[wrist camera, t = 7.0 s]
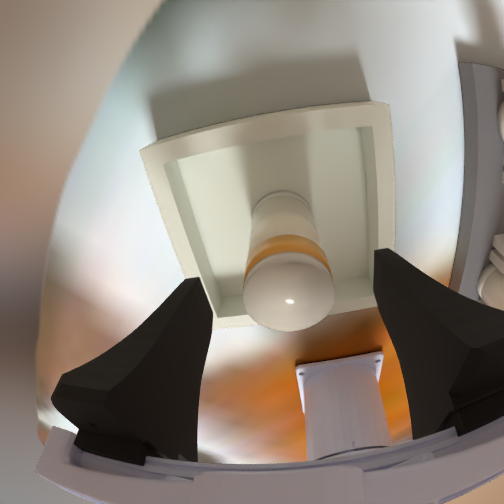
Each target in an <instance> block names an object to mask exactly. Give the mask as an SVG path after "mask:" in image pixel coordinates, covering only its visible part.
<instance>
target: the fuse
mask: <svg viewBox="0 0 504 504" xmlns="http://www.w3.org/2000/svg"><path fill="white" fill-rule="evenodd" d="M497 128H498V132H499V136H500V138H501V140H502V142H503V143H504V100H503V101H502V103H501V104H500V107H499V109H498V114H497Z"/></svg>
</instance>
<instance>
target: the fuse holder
mask: <svg viewBox="0 0 504 504" xmlns="http://www.w3.org/2000/svg"><path fill="white" fill-rule="evenodd" d="M458 65H459V71H460V79H461V87H462V97H463V109H464V127H465V171H464V190H463V202H462V213H461V221H460V229H459V236H458V243H457V249H456V255H455V260H454V266H453V271H452V276H451V280H450V285H449V288H450V289H451V290H453V291H455V292H457V293H459V294H461V295H463V296H465V297H468V298H470V299H472V300H475V301H477V302H479V303H482V304H485V305H486V303H485V302H484V300H483V299H482V298H481V297H480V295H479V294H478V292H477V290H476V285H477V281H478V278H479V276H480V274H481V273H482V271H483V270H484V269H485V268H486V267H487V266H488V265H489V264H490V263H493V264H494V265H495V266H496V267H497V269H498V270H499V271H500V272H501V273H502V274H504V143H503V142H502V140H501V138H500V136H499V132H498V128H497V114H498V109H499V107H500V104H501V103H502V101H503V100H504V69H500V68H496V67H491V66H486V65H481V64H475V63H458Z"/></svg>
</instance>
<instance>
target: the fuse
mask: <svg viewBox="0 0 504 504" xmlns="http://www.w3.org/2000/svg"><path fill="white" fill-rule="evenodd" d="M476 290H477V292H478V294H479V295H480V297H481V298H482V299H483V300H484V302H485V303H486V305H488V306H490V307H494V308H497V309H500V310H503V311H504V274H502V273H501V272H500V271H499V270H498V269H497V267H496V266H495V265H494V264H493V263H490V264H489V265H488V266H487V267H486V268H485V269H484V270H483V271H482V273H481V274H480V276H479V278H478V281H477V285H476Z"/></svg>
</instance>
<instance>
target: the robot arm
mask: <svg viewBox="0 0 504 504" xmlns="http://www.w3.org/2000/svg"><path fill="white" fill-rule="evenodd" d="M373 292H374V296H375V299H376V303H377V306H378V309H379V312H380V314H381V317H382V319H383V321H384V324H385V326H386V328H387V331H388V333H389V336H390V338H391V340H392V343H393V345H394V348H395V350H396V353H397V356H398V359H399V362H400V366H401V370H402V374H403V378H404V383H405V388H406V393H407V398H408V404H409V410H410V417H411V425H412V435H413V441H409V442H406V443H402V444H399V445H393V446H392V442H391V437H390V432H389V428H388V423H387V419H386V414H385V410H384V405H383V401H382V397H381V393H380V389H379V385H378V382H379V377H380V373H381V368H382V363H383V357H384V355H383V352H381V351H378V352H373V353H368V354H363V355H358V356H353V357H347V358H341V359H335V360H329V361H323V362H316V363H309V364H301V365H298V366H297V367H296V375H297V381H298V386H299V391H300V397H301V402H302V408H303V413H305V424H306V444H307V461H304V462H293V463H277V464H215V463H199V462H198V454H197V427H198V407H199V395H200V385H201V379H202V374H203V370H204V365H205V361H206V357H207V352H208V348H209V344H210V339H211V334H212V325H213V311H212V308H211V305H210V303H209V300H208V298H207V295H206V293H205V290H204V287H203V285H202V282H201V279H200V277H194V278H186V279H185V280H184V281H183V282H182V283H181V284H180V285H179V286H178V287H177V288H176V289H175V290H174V291H173V292H172V293H171V295H170V296H169V297H168V298H167V299H166V300H165V301H164V302H163V303H162V304H161V305H160V306H159V307H158V308H157V309H156V310H155V311H154V312H153V313H152V314H151V315H150V316H149V317H148V318H147V319H146V320H145V321H144V322H143V323H142V324H141V325H140V326H139V327H138V328H137V329H135V330H134V331H133V332H132V333H131V334H129V335H128V336H127V337H126V338H124V339H123V340H122V341H120V342H119V343H118V344H116V345H115V346H113V347H112V348H110V349H109V350H108V351H106V352H105V353H103V354H101V355H100V356H98V357H97V358H95V359H93V360H91V361H89V362H88V363H86V364H84V365H82V366H80V367H78V368H75V369H73V370H71V371H69V372H67V373H64V374H62V376H61V378H60V380H59V382H58V384H57V386H56V388H55V390H54V392H53V394H52V396H51V401H52V404H53V405H54V407H55V408H56V409H57V410H58V411H59V412H60V413H61V414H62V415H63V416H64V417H65V418H67V419H68V420H69V421H70V422H71V423H72V424H74V425H75V426H76V427H77V428H78V429H79V430H78V433H77V435H76V434H75V433H73V432H70V431H68V430H65V429H61V428H58V427H55V426H52V428H51V431H50V433H49V435H48V438H47V440H46V443H45V445H44V448H43V450H42V453H41V456H40V459H39V461H38V464H37V466H36V469H35V473H36V474H38V475H39V476H41V477H43V478H45V479H46V480H48V481H50V482H52V483H53V484H55V485H57V486H59V487H61V488H63V489H64V490H66V491H68V492H70V493H72V494H75V495H77V496H79V497H81V498H84V499H86V500H89V501H91V502H94V503H96V504H443V503H446V502H448V501H451V500H453V499H455V498H457V497H459V496H462V495H464V494H466V493H468V492H470V491H472V490H474V489H476V488H478V487H480V486H482V485H484V484H486V483H488V482H490V481H491V480H493V479H495V478H497V477H499V476H500V475H502V474H503V473H504V311H503V310H500V309H497V308H494V307H490V306H488V305H485V304H482V303H479V302H477V301H475V300H472V299H470V298H468V297H465V296H463V295H461V294H459V293H457V292H455V291H453V290H451V289H450V288H448V287H446V286H444V285H442V284H441V283H439V282H437V281H436V280H434V279H433V278H431V277H429V276H428V275H426V274H425V273H423V272H422V271H420V270H419V269H417V268H416V267H415V266H413V265H412V264H410V263H409V262H408V261H406V260H405V259H403V258H402V257H401V256H399V255H398V254H396V253H395V252H394V251H392V250H391V249H389V248H384V249H378V250H374V274H373Z"/></svg>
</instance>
